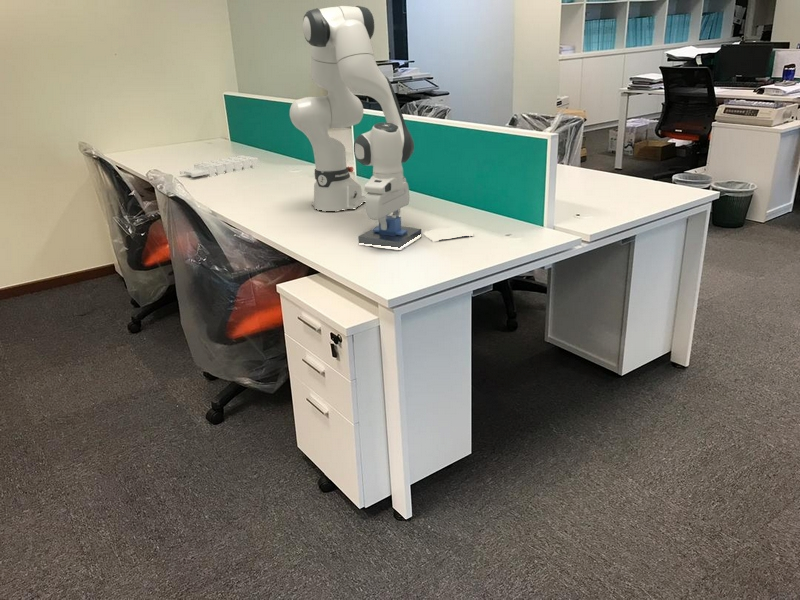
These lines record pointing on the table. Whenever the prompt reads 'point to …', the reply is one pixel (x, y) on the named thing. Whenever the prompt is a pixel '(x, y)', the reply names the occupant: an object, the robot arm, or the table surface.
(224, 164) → the organizer
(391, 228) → the block
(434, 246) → the table surface
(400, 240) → the plate
